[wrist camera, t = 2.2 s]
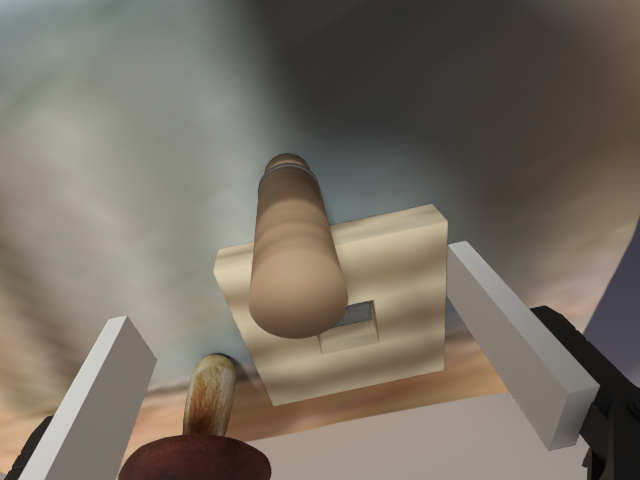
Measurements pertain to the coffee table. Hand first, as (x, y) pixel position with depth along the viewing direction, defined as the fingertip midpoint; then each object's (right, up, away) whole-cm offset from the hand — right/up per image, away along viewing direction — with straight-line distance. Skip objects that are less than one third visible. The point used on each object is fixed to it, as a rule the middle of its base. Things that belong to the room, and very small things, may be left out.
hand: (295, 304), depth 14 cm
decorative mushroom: (-10, -10, +21) cm, 25 cm away
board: (+3, -4, +19) cm, 20 cm away
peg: (-1, +7, +11) cm, 14 cm away
